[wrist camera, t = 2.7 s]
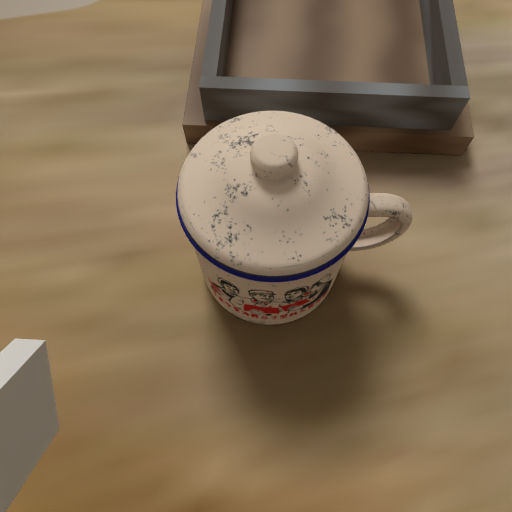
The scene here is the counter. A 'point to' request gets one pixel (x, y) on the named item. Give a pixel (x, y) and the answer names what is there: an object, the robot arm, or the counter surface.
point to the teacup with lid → (278, 212)
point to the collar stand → (335, 70)
